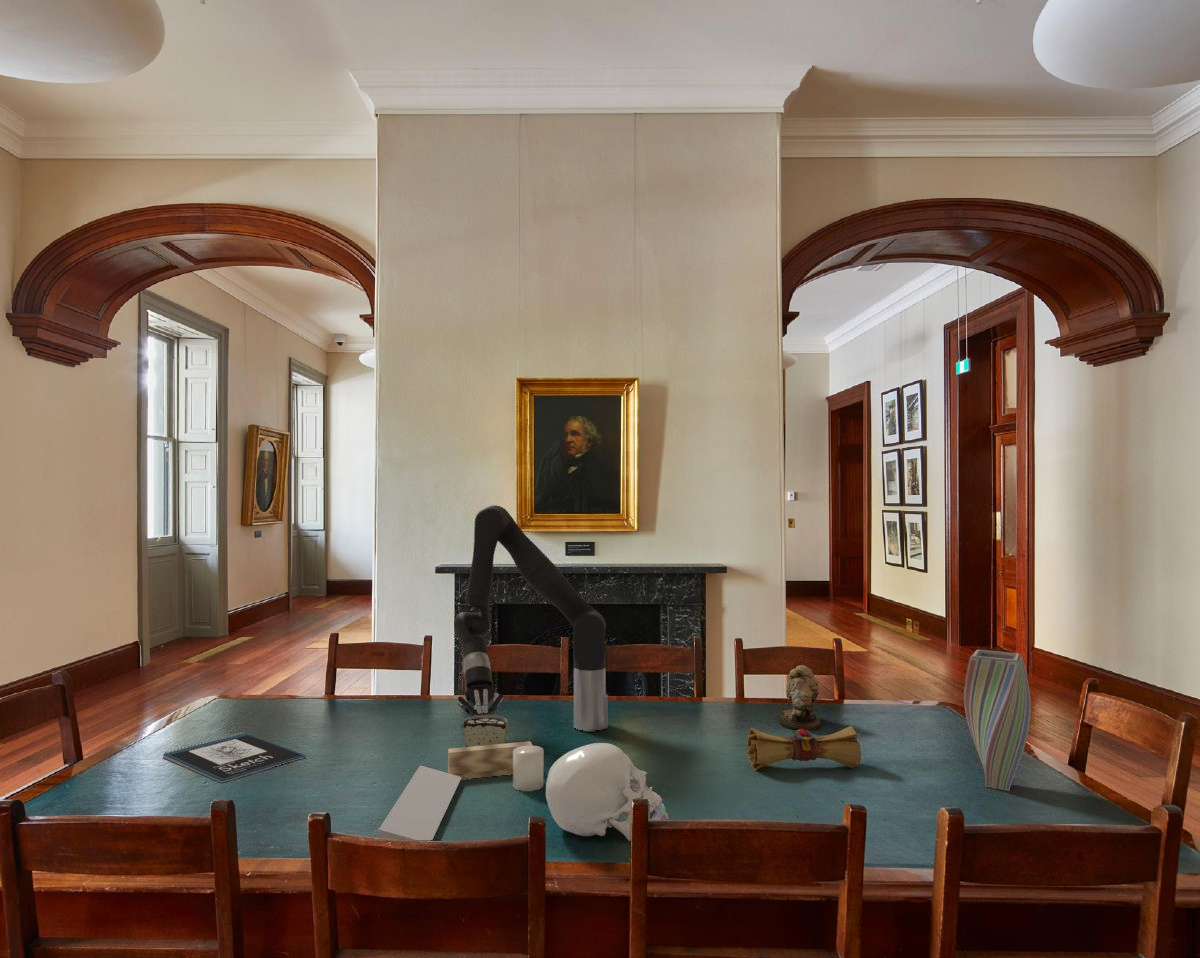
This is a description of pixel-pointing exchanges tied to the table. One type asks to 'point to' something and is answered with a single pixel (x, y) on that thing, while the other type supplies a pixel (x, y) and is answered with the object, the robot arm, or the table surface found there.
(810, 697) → the stone bust statue
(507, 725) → the food container
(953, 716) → the table surface
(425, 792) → the grey long flat block
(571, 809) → the white human skull
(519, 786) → the glossy white cylinder
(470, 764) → the light wooden block
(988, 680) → the vase
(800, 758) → the scroll
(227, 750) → the sketchbook
